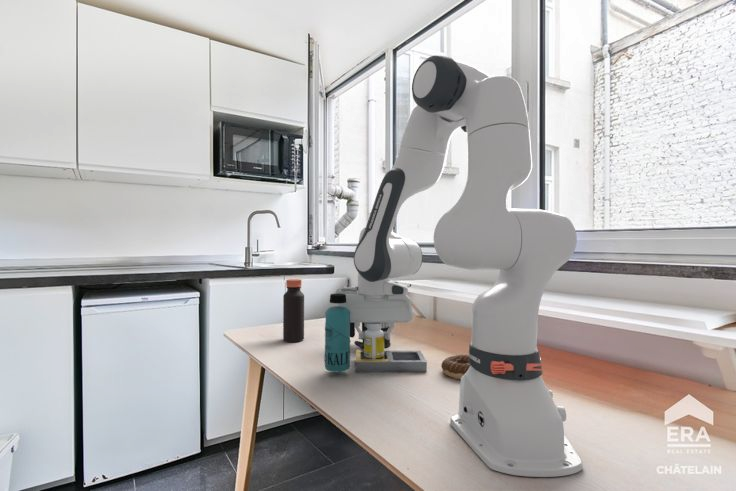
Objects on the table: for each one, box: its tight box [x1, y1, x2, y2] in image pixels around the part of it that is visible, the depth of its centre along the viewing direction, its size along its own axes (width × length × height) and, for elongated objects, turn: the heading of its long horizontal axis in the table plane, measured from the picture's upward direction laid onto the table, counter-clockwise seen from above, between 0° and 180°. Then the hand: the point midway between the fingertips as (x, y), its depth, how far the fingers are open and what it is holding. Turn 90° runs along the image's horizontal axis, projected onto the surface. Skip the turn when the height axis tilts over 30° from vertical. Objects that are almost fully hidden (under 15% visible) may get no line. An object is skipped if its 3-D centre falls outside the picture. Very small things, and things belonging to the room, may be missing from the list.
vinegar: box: [282, 278, 305, 343], centre depth 125 cm, size 7×7×20 cm
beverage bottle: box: [323, 292, 351, 373], centre depth 94 cm, size 6×7×20 cm
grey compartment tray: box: [355, 349, 428, 373], centre depth 101 cm, size 10×18×3 cm, turn 91°
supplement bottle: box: [363, 322, 385, 359], centre depth 101 cm, size 5×5×10 cm
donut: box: [440, 354, 470, 381], centre depth 94 cm, size 11×11×4 cm
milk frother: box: [350, 322, 392, 350], centre depth 117 cm, size 14×16×15 cm
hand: (374, 338), depth 101 cm, fingers closed on supplement bottle, 5 cm apart
